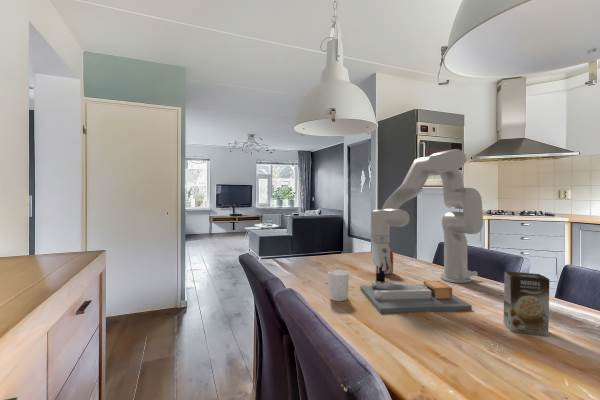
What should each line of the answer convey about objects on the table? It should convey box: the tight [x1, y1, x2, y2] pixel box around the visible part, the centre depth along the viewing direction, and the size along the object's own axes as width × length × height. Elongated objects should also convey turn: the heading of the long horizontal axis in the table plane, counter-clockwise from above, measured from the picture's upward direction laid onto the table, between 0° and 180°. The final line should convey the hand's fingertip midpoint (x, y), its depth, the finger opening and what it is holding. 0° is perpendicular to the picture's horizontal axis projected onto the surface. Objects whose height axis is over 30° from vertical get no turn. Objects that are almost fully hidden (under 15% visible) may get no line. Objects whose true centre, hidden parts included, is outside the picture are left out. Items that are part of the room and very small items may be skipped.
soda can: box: [385, 248, 394, 275], centre depth 147 cm, size 7×7×12 cm
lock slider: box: [423, 280, 453, 299], centre depth 110 cm, size 6×9×4 cm, turn 4°
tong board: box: [359, 284, 473, 314], centre depth 110 cm, size 32×24×4 cm
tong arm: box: [371, 280, 427, 290], centre depth 115 cm, size 21×3×2 cm, turn 69°
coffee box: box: [503, 270, 551, 337], centre depth 85 cm, size 9×6×16 cm
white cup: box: [327, 269, 350, 302], centre depth 111 cm, size 8×8×10 cm
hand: (380, 282), depth 123 cm, fingers closed
